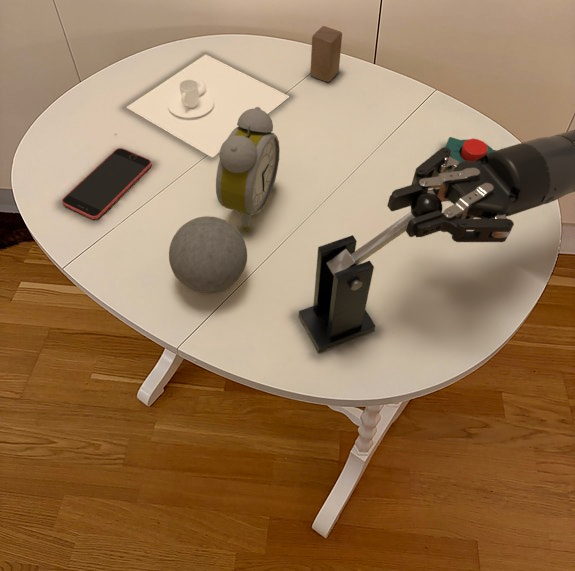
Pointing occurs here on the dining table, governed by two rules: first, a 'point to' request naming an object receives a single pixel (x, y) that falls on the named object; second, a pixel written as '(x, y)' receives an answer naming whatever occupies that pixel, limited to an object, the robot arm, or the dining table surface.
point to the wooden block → (325, 53)
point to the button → (473, 150)
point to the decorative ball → (208, 255)
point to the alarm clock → (248, 165)
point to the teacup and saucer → (205, 103)
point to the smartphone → (106, 183)
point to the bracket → (338, 299)
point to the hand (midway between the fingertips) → (400, 215)
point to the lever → (386, 234)
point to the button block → (459, 149)
